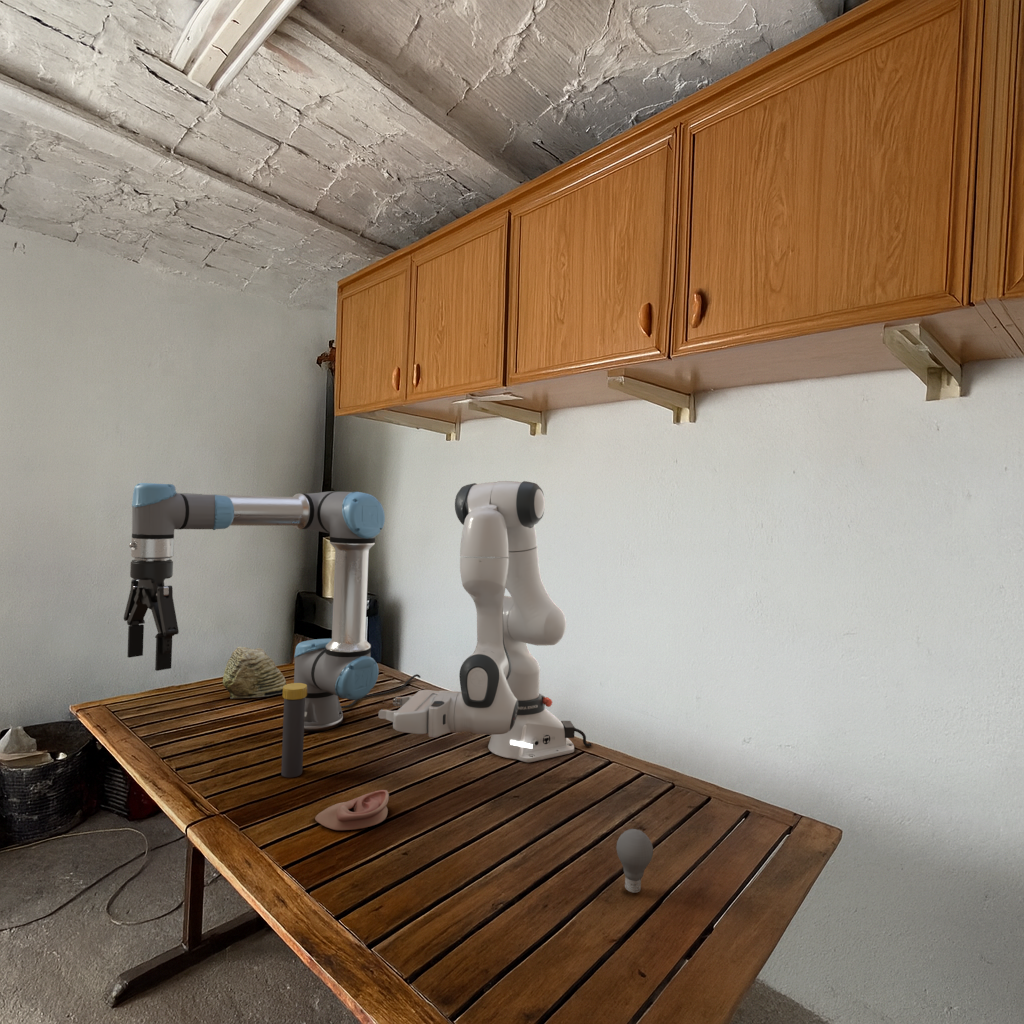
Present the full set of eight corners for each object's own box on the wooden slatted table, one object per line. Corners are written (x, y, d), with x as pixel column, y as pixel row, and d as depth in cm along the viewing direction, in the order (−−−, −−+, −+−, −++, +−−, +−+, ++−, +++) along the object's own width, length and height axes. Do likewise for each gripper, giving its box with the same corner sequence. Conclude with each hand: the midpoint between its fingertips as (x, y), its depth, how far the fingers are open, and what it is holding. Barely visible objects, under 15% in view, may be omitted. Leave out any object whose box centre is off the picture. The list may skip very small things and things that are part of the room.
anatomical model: (307, 805, 121) (336, 780, 133) (306, 826, 121) (335, 798, 133) (372, 815, 119) (395, 788, 130) (371, 836, 119) (394, 807, 130)
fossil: (218, 695, 195) (220, 647, 195) (278, 685, 208) (279, 640, 207) (228, 703, 189) (230, 653, 188) (289, 692, 201) (290, 645, 201)
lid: (279, 699, 141) (279, 689, 141) (286, 692, 146) (286, 682, 146) (303, 700, 142) (304, 689, 141) (309, 692, 147) (309, 683, 147)
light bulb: (610, 879, 108) (613, 822, 108) (644, 879, 109) (647, 822, 109) (619, 902, 102) (622, 840, 102) (655, 901, 103) (658, 840, 103)
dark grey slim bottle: (278, 777, 142) (282, 690, 141) (284, 769, 146) (287, 684, 146) (299, 777, 142) (302, 691, 142) (304, 769, 147) (307, 685, 146)
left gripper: (108, 554, 134) (104, 654, 134) (159, 565, 118) (155, 678, 119) (146, 552, 140) (143, 648, 140) (199, 563, 124) (195, 671, 124)
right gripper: (457, 685, 153) (401, 681, 155) (434, 710, 132) (370, 706, 135) (456, 711, 153) (401, 707, 155) (433, 740, 132) (370, 735, 134)
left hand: (148, 662), depth 129 cm, fingers open, 13 cm apart
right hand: (386, 707), depth 144 cm, fingers open, 8 cm apart
